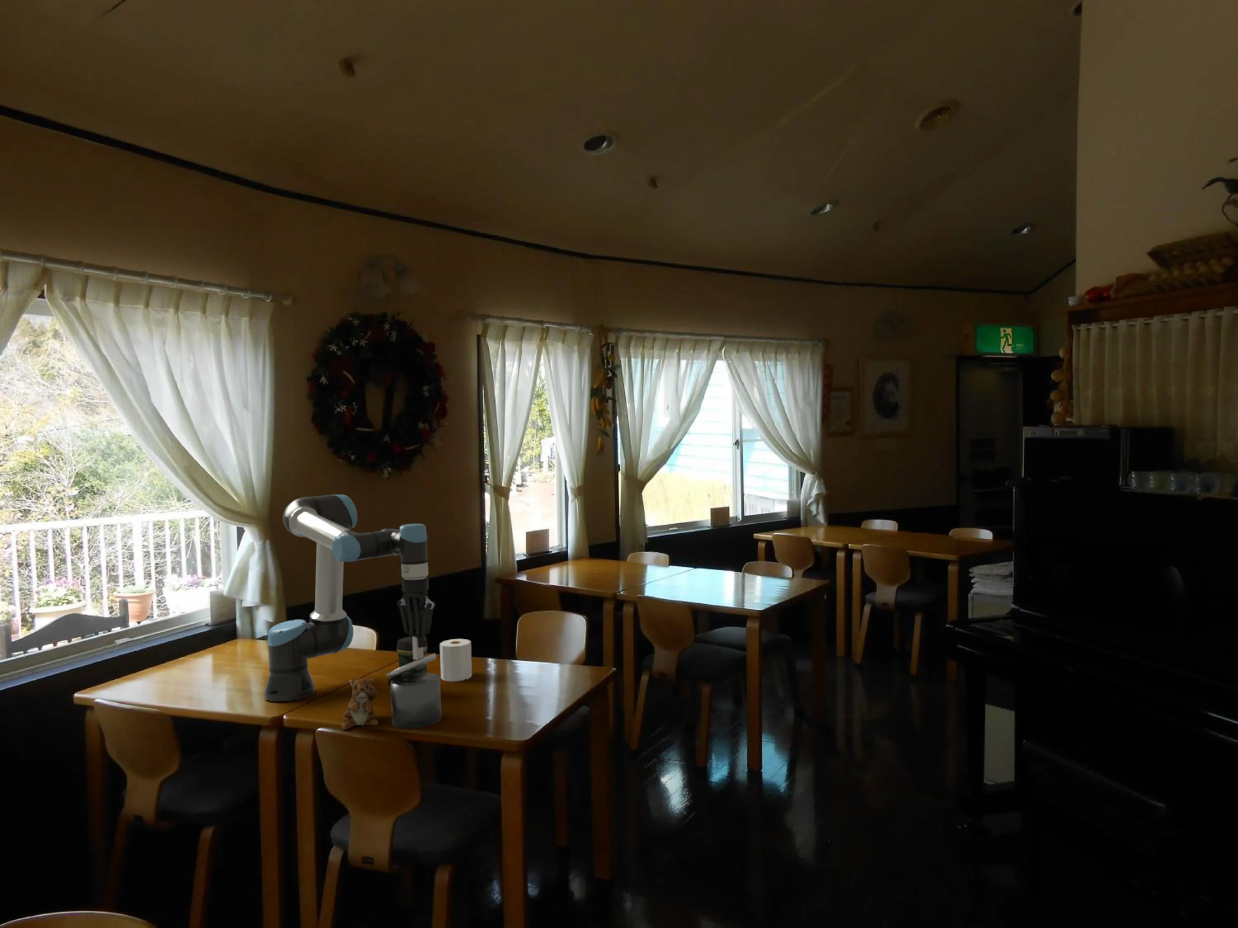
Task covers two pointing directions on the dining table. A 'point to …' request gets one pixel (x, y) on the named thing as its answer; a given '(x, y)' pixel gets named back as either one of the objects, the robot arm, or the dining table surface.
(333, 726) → the dining table surface
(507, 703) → the dining table surface
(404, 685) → the cooker pot
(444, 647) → the toilet paper
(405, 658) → the coffee jar
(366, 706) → the stuffed squirrel
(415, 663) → the lid
